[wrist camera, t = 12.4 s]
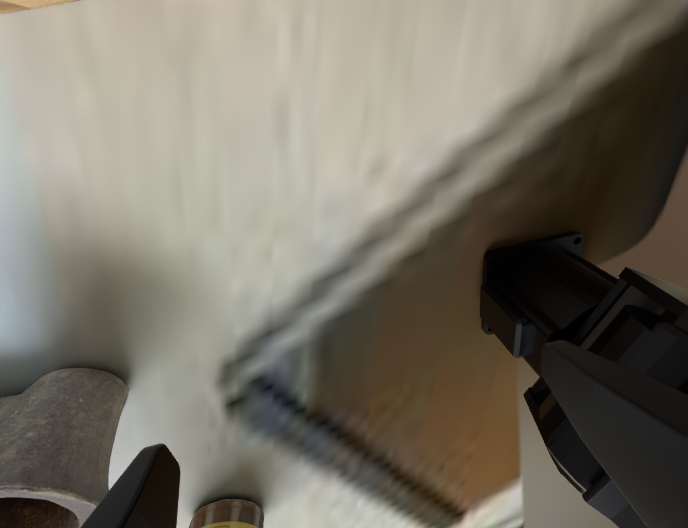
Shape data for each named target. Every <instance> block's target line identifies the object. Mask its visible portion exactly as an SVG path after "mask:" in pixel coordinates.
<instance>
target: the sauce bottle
mask: <svg viewBox="0 0 688 528" xmlns="http://www.w3.org/2000/svg"><path fill="white" fill-rule="evenodd" d="M263 522H264V513H263V511H262V509H261V507H259V506H258V505H256V504H255V503H253V502H252V501H247V500H242V499H223V500H220V501H216V502H213V503H210V504H208V505H205V506H203V507H201V508H200V509H199V510H198V511H197V512H196V513H195V515H194V516H193V518H192V520H191V523H190V526H189V528H263Z"/></svg>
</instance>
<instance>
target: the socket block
mask: <svg viewBox="0 0 688 528" xmlns="http://www.w3.org/2000/svg"><path fill="white" fill-rule="evenodd" d="M72 1H78V0H0V14H4V13H10V12H15V11H21V10H27V9H32V8H38V7H44V6H50V5H55V4H61V3H67V2H72Z"/></svg>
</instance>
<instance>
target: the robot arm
mask: <svg viewBox="0 0 688 528" xmlns="http://www.w3.org/2000/svg"><path fill="white" fill-rule="evenodd" d="M575 239H576V240H575ZM574 240H575V241H574ZM584 241H585V236H584V235H583V234H581V233H579V232H577V231H573V232H569V233H565V234H561V235H556V236H552V237H548V238H544V239H540V240H535V241H531V242H527V243H523V244H519V245H514V246H510V247H506V248H502V249H498V250H493V251H490V252H488V253H487V254H486V255H485V257H484V264H483V284H482V286H481V295H480V317H481V318H482V324H481V327H482V330H483V331H484V332H485V333H486V334H495V335H496V336H497V337H498V339H499V340H500V341H501V342H502V343H503V345H504V346H505V347H506V348H507V349H508V351H509V352H510V353H511V354H512V355H513V356H514V357H516V358H520V357H523V358H524V359H525V361H526V362H527V363H528V364H529V365H530V366H531V367H532V369H533V370H534V371H535V372H536V373H537V374H538V375H539V377H540V378H539V379H538V380H537V381H536V382H535V384H534V385H533V386H532V387H531V388H528V390H527V391H526V392H525V393H524V398H525V400H526V402H527V404H528V406H529V409H530V411H531V413H532V415H533V418H534V420H535V422H536V425H537V427H538V429H539V431H540V433H541V436H542V438H543V440H544V443H545V445H546V447H547V449H548V452H549V454H550V456H551V458H552V459H553V461H554V463H555V465H556V466H557V469H558V470H559V472H560V473H561V474H562V475H563V476H564V477H565V478H566V479H567V480H568V481H569V482H570V483H571V484H572V485H573V486H574V487H575V488H576V489H577V490H578V491H579V492H580V493H582V496H583V499H584V500H585V501H586V502H587V503H588V504H589V505H591V506H592V507H593V508H595V509H596V510H598V511H599V512H600V513H602V514H603V515H605V516H606V517H607V518H609V519H610V520H611V521H613V522H614V523H615V524H616V525H617V526H618V527H619V528H688V290H686V289H683V288H681V287H678V286H675V285H673V284H670V283H668V282H665V281H662V280H660V279H657V278H654V277H652V276H649V275H647V274H644V273H641V272H639V271H636V270H633V269H631V268H628V267H625V269H624V270H623V271H622V272H621V274H620V275H619V277H620V278H619V279H617V278H615V277H613V276H611V275H610V274H608V273H607V272H605V271H603V270H601V269H600V268H598V267H597V266H595V265H593V264H592V263H590V262H588V261H587V260H585V259H583V258H582V257H581V256H582V251H583V246H584ZM494 257H495V259H494V260H493V261H491V260H492V259H493V258H494ZM179 485H180V467H179V464H178V462H177V461H176V459H175V458H174V456H173V455H172V453H171V452H170V451H169V449H168V448H167V446H166V445H164V444H156V445H153V446H149V447H146V448H144V449H143V450H142V451H141V452H140V453H139V454H138V455H137V456H136V458H135V459H134V460H133V461H132V463H131V464H130V465H129V466H128V468H127V469H126V470H125V471H124V473H123V474H122V475H121V476H120V478H119V479H118V480H117V482H116V483H115V484H114V485H113V487H112V488H111V489H110V490H109V492H108V493H107V494H106V495H105V497H104V498H103V499H102V500H101V502H100V503H99V504H98V505H97V507H96V508H95V509H94V510H93V512H92V513H91V514H90V515H89V517H88V518H87V519H86V521H85V522H84V523H83V524H82V526H81V527H80V528H176V525H177V512H178V499H179Z"/></svg>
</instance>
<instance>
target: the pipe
mask: <svg viewBox="0 0 688 528" xmlns="http://www.w3.org/2000/svg"><path fill="white" fill-rule="evenodd" d="M127 397H128V388H127V386H126V385H125V383H124V382H123V381H122V380H121V379H119V378H118V377H116V376H115V375H113V374H111V373H109V372H106V371H102V370H98V369H93V368H71V369H70V368H66V369H59V370H57V371H52V372H49V373H47V374H45V375H44V376H42V377H41V378H39V379H38V380H37V381H36V382H34V383H33V384H32V385H31V386H30V387H29V388H27V389H26V390H25V391H24V392H23V393H22V394H19V395H11V396H6V397H0V528H80V527H81V526H82V524H83V523H84V522H85V521H86V519H87V518H88V517H89V515H90V514H91V513H92V512H93V510H94V509H95V508H96V507H97V505H98V504H99V503H100V502H101V500H102V499H103V498H104V497H105V495H106V494H107V493H108V492H109V488H108V474H109V464H110V457H111V453H112V448H113V443H114V439H115V435H116V430H117V427H118V423H119V419H120V416H121V413H122V410H123V408H124V405H125V403H126V400H127Z"/></svg>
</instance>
